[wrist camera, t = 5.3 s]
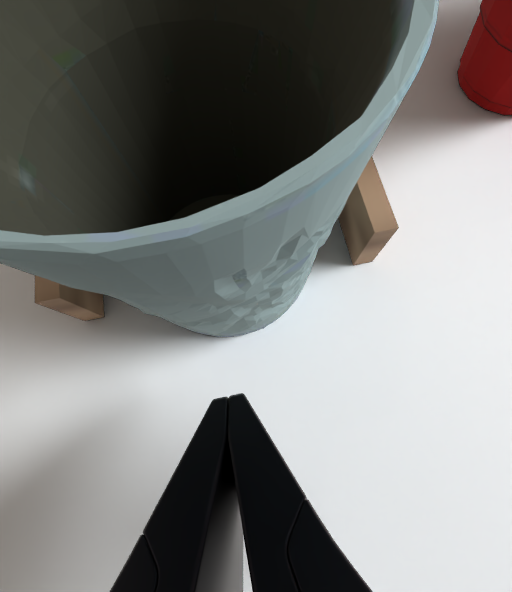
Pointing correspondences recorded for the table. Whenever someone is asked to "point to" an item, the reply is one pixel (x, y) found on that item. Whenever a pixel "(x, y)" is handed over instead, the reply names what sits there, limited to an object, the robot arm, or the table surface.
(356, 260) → the walnut bay
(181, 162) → the green plant pot
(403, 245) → the table surface
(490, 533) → the table surface
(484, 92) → the plastic cup
